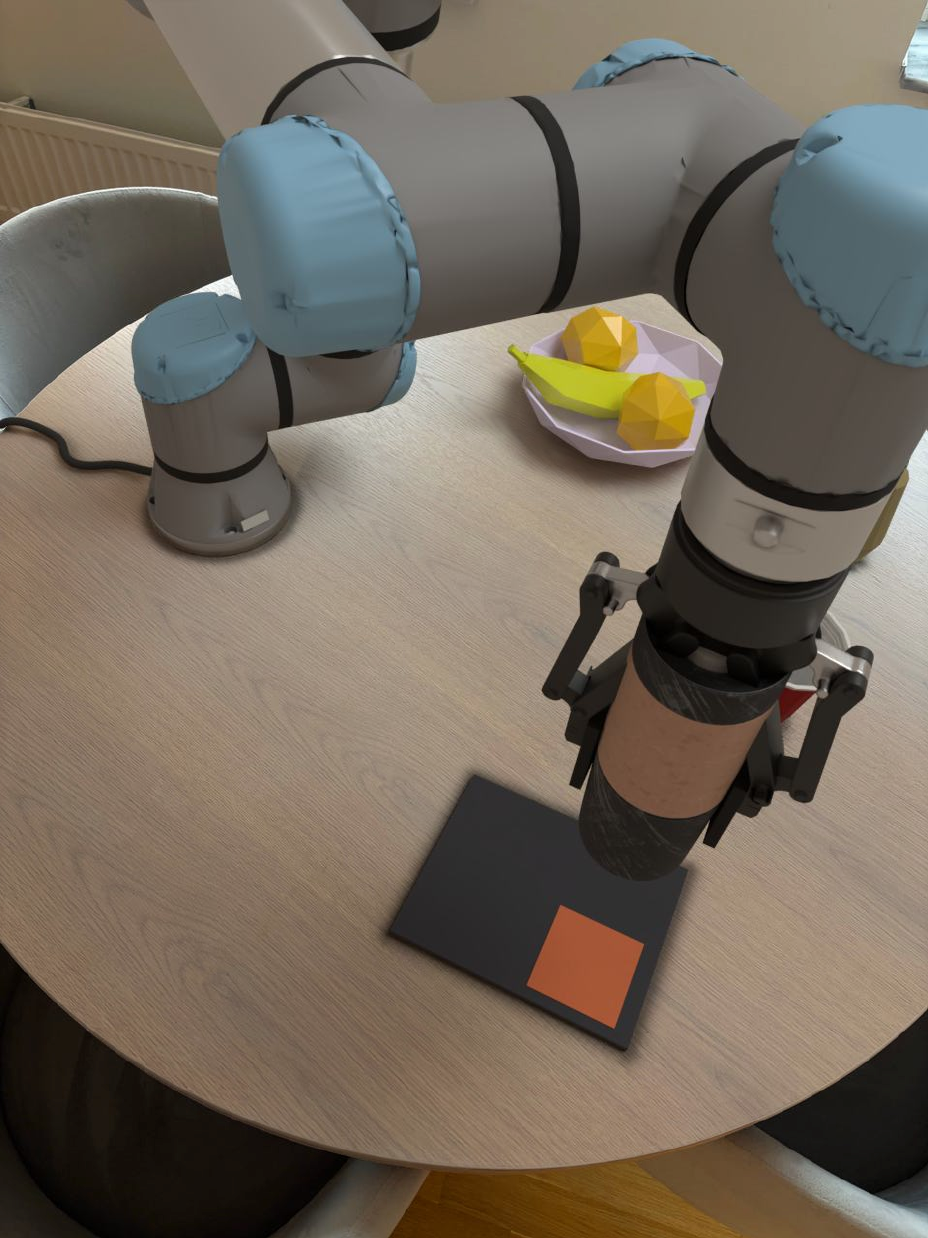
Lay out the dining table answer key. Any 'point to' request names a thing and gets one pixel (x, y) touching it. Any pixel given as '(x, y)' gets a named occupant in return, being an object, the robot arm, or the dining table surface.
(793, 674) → the plastic cup
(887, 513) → the squeeze bottle
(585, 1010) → the mat
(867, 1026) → the dining table surface
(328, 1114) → the dining table surface
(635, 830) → the travel mug
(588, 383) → the fruit bowl
